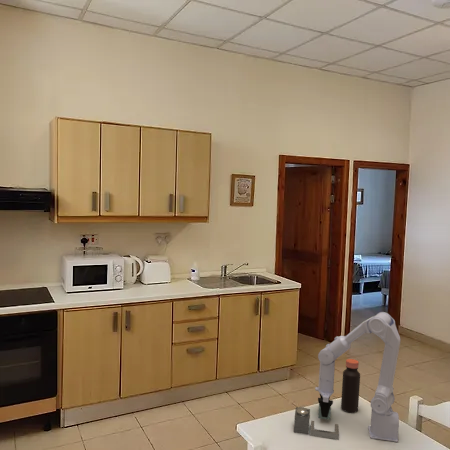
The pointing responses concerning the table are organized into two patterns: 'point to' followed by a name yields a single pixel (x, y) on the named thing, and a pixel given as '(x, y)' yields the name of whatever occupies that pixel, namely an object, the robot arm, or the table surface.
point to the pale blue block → (321, 415)
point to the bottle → (350, 387)
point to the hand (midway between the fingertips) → (324, 412)
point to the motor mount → (303, 425)
